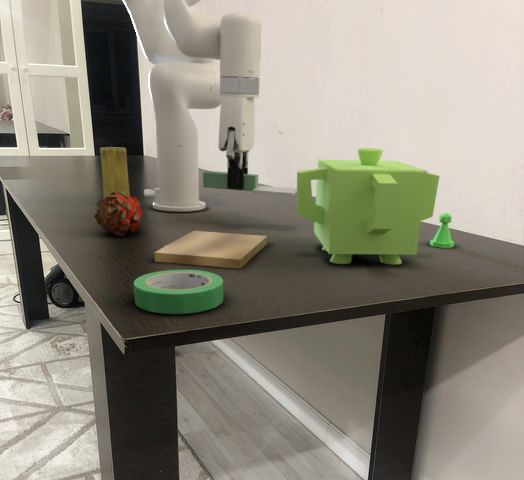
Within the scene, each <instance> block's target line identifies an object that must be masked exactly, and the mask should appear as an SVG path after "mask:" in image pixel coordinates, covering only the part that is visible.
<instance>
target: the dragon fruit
mask: <svg viewBox="0 0 524 480" xmlns="http://www.w3.org/2000/svg"><path fill="white" fill-rule="evenodd" d="M96 206H97V207H96V210H95V213H94V218H95V221H96V224H97V225H99V226H101V227H102V229H103V230H105V231H106V232H107V233H109V234H113V235H116V236H125V235H126V234H127V233H128V232H131V233H134V232H138V231H139V230H140V228H141V220H142V218H143V210H142V207H141V203H140V202H139V200H138V199H137V198H136V197H135V196H130V197H129V194H128V193H126V192H122V191H118V192H112V193H111V194H109V195H107V196H106V197H105V199H104V198H102V199H99V200H98V201H97V202H96Z"/></svg>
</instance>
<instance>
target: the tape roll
mask: <svg viewBox="0 0 524 480" xmlns="http://www.w3.org/2000/svg"><path fill="white" fill-rule="evenodd" d="M133 293H134V303H135V306H137V307H138V308H139V309H141V310H143V311H145V312H146V311H147V312H150V313H156V314H163V315H187V314H195V313H201V312H206V311H210V310H213V309H215V308H217V307H219V306H220V305H221V304H222V303H223V302H224V279H223V278H222V277H221V276H220V275H218V274H216V273H213V272H211V271H210V272H209V271H205V270H198V269H167V270H160V271H154V272H149V273H146V274H143V275H141V276H139V277H137V278H136V279H135V280H134V281H133Z"/></svg>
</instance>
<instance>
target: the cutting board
mask: <svg viewBox="0 0 524 480" xmlns="http://www.w3.org/2000/svg"><path fill="white" fill-rule="evenodd" d="M267 245H268V236H267V235H259V234H244V233H232V232H231V233H229V232H218V231H217V232H216V231H205V230H192V231H191V232H189V233H187V234H185V235H184V236H182V237H180V238H178V239H176V240H175V241H173V242H171V243H169V244H167V245H165V246H163V247H162V248H159V249H158V250H156V251H155V252H154V263H155V262H157V263H166V264H167V263H169V264H179V265H180V264H181V265H191V266H202V267H212V268H213V267H215V268H225V269H234V270H235V269H237V270H240V269H242V268H243V267H244V266H245V265H246V264H247V263H248V262H250V260H252V259H253V258H254V257H255V256H256V255H257V254H259V252H261V250H263V249H264V247H266V246H267Z"/></svg>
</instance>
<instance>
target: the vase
mask: <svg viewBox="0 0 524 480" xmlns="http://www.w3.org/2000/svg"><path fill="white" fill-rule="evenodd" d="M99 152H100V161H101V174H102V176H101V177H102V193H103V194H102V195H103V196H102V197H103V199H105V197H106V196H107V195H109V194H111V193H112V192H118V191H122V192H126V193H128V194H129V197H131V194H130V181H129V180H130V179H129V172H128V156H127V149H126V148H125V147H119V146H118V147H117V146H116V147H115V146H113V147H112V146H110V147H109V146H107V147H106V146H105V147H100V148H99Z"/></svg>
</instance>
